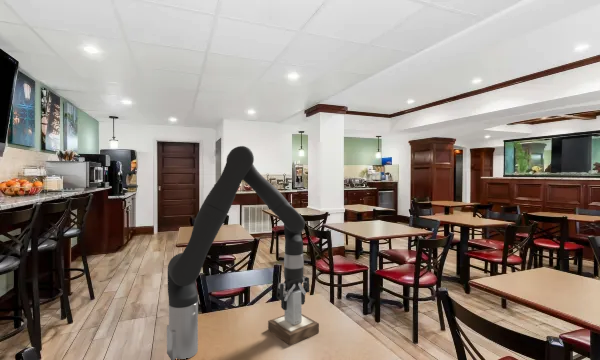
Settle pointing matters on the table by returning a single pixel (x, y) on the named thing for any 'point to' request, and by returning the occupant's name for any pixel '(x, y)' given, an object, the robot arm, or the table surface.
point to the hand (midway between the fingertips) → (293, 306)
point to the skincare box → (294, 308)
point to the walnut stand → (293, 329)
